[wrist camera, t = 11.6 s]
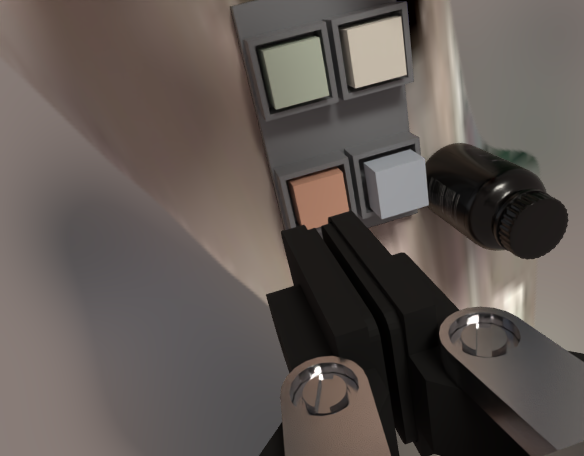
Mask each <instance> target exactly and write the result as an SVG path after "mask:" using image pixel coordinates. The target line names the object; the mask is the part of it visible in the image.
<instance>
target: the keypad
mask: <svg viewBox="0 0 584 456" xmlns="http://www.w3.org/2000/svg"><path fill="white" fill-rule="evenodd" d="M230 8H231V12H232V17H233V21H234V25H235V29H236V33H237V37H238V41H239V45H240V49H241V54H242V58H243V62H244V66H245V70H246V74H247V78H248V82H249V86H250V90H251V95H252V99H253V103H254V107H255V111H256V115H257V119H258V123H259V127H260V132H261V136H262V140H263V144H264V148H265V152H266V156H267V160H268V164H269V168H270V173H271V177H272V181H273V185H274V189H275V193H276V197H277V201H278V205H279V210H280V214H281V218H282V222H283V226H284V230H287V229H291V228H294V227H297V226H300V225H299V224H298V222H297V220H296V217H295V213H294V208H293V204H292V199H291V195H290V191H289V186H288V182H287V180H289V179H292V178H296V177H299V176H303V175H306V174H310V173H313V172H317V171H320V170H324V169H327V168H331V167H334V166H337V167H338V168H339V169H340V170H341V171H342V172H343V178H344V184H345V190H346V195H347V201H348V207H349V211H353V212H354V213H355V215H356V216H357V217H358V218H359V219H360V220H361V221H362V222H363V224H364V225H365V226H366V227H367V228H369V227H373V226H376V225H379V224H383V223H386V222H389V221H393V220H396V219H399V218H402V217H406V216H409V215H412V214H416V213H418V212H417V209H415V210H411V211H408V212H405V213H401V214H398V215H395V216H391V217H388V218H385V219H381V218H380V217H379V216H378V215H377V214H376V213H375V212H374V211H373V210H372V209H371V208H370V204H369V197H368V190H367V184H366V177H365V170H364V162H367V161H371V160H374V159H378V158H381V157H385V156H388V155H392V154H395V153H399V152H402V151H406V150H409V149H411V150H412V151H414V152H416V153H417V154H419V155H421V152H420V141H419V137H417V136H416V135H414V134H412V133H410V132H409V122H408V112H407V102H406V92H405V84H408V83H411V82H414V75H413V65H412V54H411V43H410V32H409V21H408V10H407V2H396V0H255V1H251V2H247V3H242V4H238V5H234V6H230ZM383 16H399V17H401V20H402V31H403V41H404V51H405V61H406V72H407V75H404V76H400V77H397V78H393V79H389V80H385V81H382V82H378V83H374V84H370V85H367V86H363V87H359V88H353V87H351V86H349V85H347V82H346V76H345V69H344V63H343V56H342V50H341V43H340V37H339V30H338V28H340V27H344V26H348V25H352V24H356V23H360V22H364V21H368V20H372V19H376V18H380V17H383ZM308 35H312V36H316V37H319V38H320V44H321V50H322V56H323V62H324V67H325V73H326V79H327V85H328V91H329V96H325V97H322V98H318V99H314V100H310V101H307V102H303V103H299V104H295V105H292V106H288V107H284V108H281V109H277V110H276V109H275V108H274V107H273V106H272V105H271V104H270V103H269V99H268V95H267V90H266V86H265V82H264V77H263V73H262V68H261V64H260V60H259V55H258V51H257V48H260V47H264V46H268V45H272V44H276V43H280V42H284V41H288V40H292V39H296V38H300V37H304V36H308ZM316 230H317V231H318V233H319V234H320V236H321V237H322V239H323V236H322V231H321V227H318V228H316Z"/></svg>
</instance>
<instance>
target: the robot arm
mask: <svg viewBox="0 0 584 456" xmlns="http://www.w3.org/2000/svg"><path fill="white" fill-rule="evenodd" d="M321 231H322V236H323V239H322V237H321V236H320V234H319V233H318V231H317V230H316V228H312V229H309V230H308V229H307V228H306V226H305V225H301V226H297V227H294V228H291V229H287V230H284V231H281V235H282V239H283V244H284V248H285V252H286V256H287V260H288V264H289V268H290V272H291V276H292V280H293V284H294V286H292V287H289V288H286V289H282V290H279V291H276V292H273V293H270V294H266V296H267V300H268V304H269V308H270V311H271V314H272V318H273V321H274V325H275V329H276V332H277V335H278V339H279V342H280V345H281V348H282V351H283V355H284V358H285V361H286V364H287V367H288V370H289V373H290V374H289V375H288V376H287V377H286V379H285V381H284V383H283V385H282V387H281V396H280V399H281V412H282V423H281V424H280V426H279V427H278V429H277V430H276V432H275V433H274V435H273V436H272V438H271V439H270V440H269V442H268V443H267V445H266V446H265V448H264V449H263V451H262V452H261V454H260V455H259V456H399V451H398V445H397V438H396V431H395V428H396V430H397V432H398V434H399V436H400V438H401V440H402V441H403V443H404V444H408V443H411V442H413V443H414V444H415V446H416V448H417V450H418V452H419V453H420V455H421V456H430V455H432V454H437V455H440V456H584V354H582V353H577V352H571V351H567V350H565V349H564V348H562V347H561V346H559V345H558V344H556V343H555V342H553V341H552V340H550V339H549V338H548V337H546V336H545V335H543V334H542V333H540V332H539V331H537V330H536V329H534V328H533V327H531V326H530V325H529V324H527V323H526V322H524V321H523V320H521V319H520V318H518V317H517V316H515V315H513V314H511V313H509V312H507V311H503V310H500V309H496V308H490V307H473V308H466V309H463V310H459V309H458V308H457V307H456V306H455V305H454V304H453V303H452V302H451V301H450V300H449V299H448V298H447V296H446V295H445V294H444V293H443V292H442V291H441V290H440V289H439V288H438V287H437V286H436V285H435V284H434V283H433V282H432V281H431V280H430V279H429V277H428V276H427V275H426V274H425V273H424V272H423V271H422V270H421V269H420V268H419V267H418V266H417V265H416V264H415V263H414V262H413V261H412V260H411V258H410V257H409V256H408V255H406V254H405V253H398V254H395V255H391V254H390V253H389V252H388V251H387V250H386V248H385V247H384V246H383V245H382V244H381V243H380V242H379V240H378V239H377V238H376V237H375V236H374V235H373V234H372V233H371V231H370V230H369V229H368V228H367V227H366V226H365V225H364V224H363V222H362V221H361V220H360V219H359V218H358V217H357V216H356V215H355V213H354V212H353V211H348V212H344V213H341V214H338V215H334V216H331V217H328V224H326V225H322V226H321Z"/></svg>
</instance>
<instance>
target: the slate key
mask: <svg viewBox="0 0 584 456" xmlns="http://www.w3.org/2000/svg"><path fill="white" fill-rule="evenodd" d="M364 170H365V177H366V184H367V190H368V197H369V204H370V208H371V209H372V210H373V211H374V212H375V213H376V214H377V215H378V216H379V217H380V218H381V219H385V218H388V217H391V216H395V215H398V214H401V213H405V212H408V211H411V210H415V209H418V208H421V207H425V206H428V205H429V201H428V189H427V178H426V167H425V158H424V157H422V156H421V155H419V154H417V153H416V152H414V151H412V150H411V149H409V150H406V151H402V152H399V153H395V154H392V155H388V156H385V157H381V158H378V159H374V160H371V161H367V162H364Z"/></svg>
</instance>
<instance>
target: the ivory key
mask: <svg viewBox="0 0 584 456" xmlns="http://www.w3.org/2000/svg"><path fill="white" fill-rule="evenodd" d="M338 30H339V37H340V43H341V50H342V56H343V63H344V69H345V76H346V82H347V85H349V86H351V87H353V88H359V87H363V86H367V85H370V84H374V83H378V82H382V81H385V80H389V79H393V78H397V77H400V76H404V75H407V72H406V61H405V51H404V41H403V31H402V20H401V17H399V16H383V17H380V18H376V19H372V20H368V21H364V22H360V23H356V24H352V25H348V26H344V27H340V28H338Z"/></svg>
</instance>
